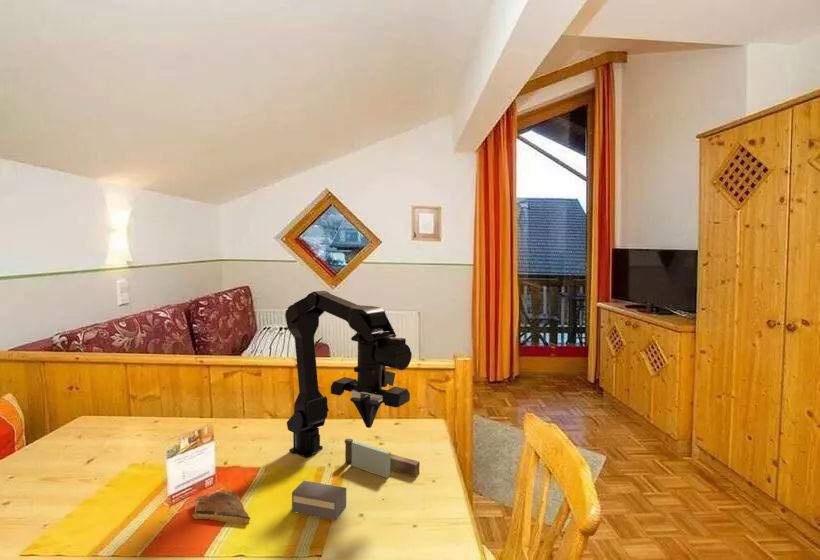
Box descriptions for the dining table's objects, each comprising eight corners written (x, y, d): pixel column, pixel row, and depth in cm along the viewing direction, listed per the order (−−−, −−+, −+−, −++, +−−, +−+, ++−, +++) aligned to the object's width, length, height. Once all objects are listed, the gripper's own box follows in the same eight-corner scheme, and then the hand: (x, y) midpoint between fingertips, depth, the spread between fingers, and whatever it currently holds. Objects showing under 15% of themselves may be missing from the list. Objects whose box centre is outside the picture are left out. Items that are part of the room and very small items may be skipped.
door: (351, 465, 118) (351, 442, 117) (357, 461, 120) (357, 439, 119) (387, 478, 112) (387, 453, 111) (392, 473, 114) (393, 450, 114)
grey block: (291, 513, 97) (291, 492, 97) (303, 500, 102) (303, 480, 102) (335, 522, 94) (335, 500, 94) (346, 508, 99) (346, 487, 99)
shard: (250, 527, 93) (250, 516, 93) (200, 543, 88) (199, 532, 87) (234, 496, 104) (234, 486, 103) (188, 509, 98) (188, 499, 98)
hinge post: (342, 463, 119) (343, 440, 118) (347, 460, 120) (347, 437, 120) (349, 465, 118) (349, 442, 117) (354, 462, 120) (354, 439, 119)
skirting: (354, 459, 121) (354, 447, 121) (358, 456, 123) (358, 445, 123) (415, 477, 113) (415, 465, 112) (419, 473, 114) (419, 461, 114)
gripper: (421, 360, 111) (420, 423, 112) (356, 350, 120) (356, 409, 121) (398, 370, 101) (396, 440, 103) (329, 359, 110) (329, 423, 111)
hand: (369, 427), depth 110 cm, fingers closed
